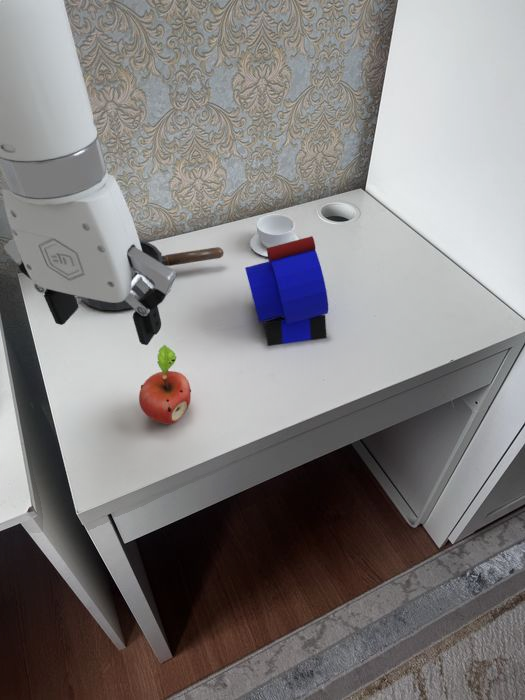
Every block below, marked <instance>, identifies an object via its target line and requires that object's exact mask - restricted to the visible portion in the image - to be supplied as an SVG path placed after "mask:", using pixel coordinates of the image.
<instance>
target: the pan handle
mask: <svg viewBox="0 0 525 700" xmlns="http://www.w3.org/2000/svg"><path fill="white" fill-rule="evenodd" d="M223 256H224V250H223V249H222V248H221V247H219V246H216V247H209V248H202V249H196V250H190V251H182V252H176V253H170V254H169V253H168V254H164V255H162V260H163V264H164V265H165V266H167V267H172V266H178V265H185V264H190V263H192V264H193V263H197V262H204V261H211V260H218V259H221V258H222V257H223Z"/></svg>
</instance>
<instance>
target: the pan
mask: <svg viewBox="0 0 525 700" xmlns="http://www.w3.org/2000/svg"><path fill="white" fill-rule="evenodd" d="M139 241H140V245H141V248H142V252H144V253H146V254H147V255H149V256H150V257H152V258H154V259H155V260H157V261H159V262H160V263H162V264H163V260H162V256H163V255H162V253H161V251H160V250H159V248H157V246H156V245H154V244H152V243H151V242H148V241H145V240H141V239H139ZM145 277H146V276H145ZM146 278H147V279H148V280H149V281H150V282H151V283H152V284H153V285H154V286H155V284H154V282H153V281H152V280H151V279H149V278H148V277H146ZM132 290H133V291H134V292H135V293H136V294H137V295H138V296H139V297H140V298H141V299H142V297H143V296H144V295H145V294H144V293H143V292H142V291H141V290H140V289H139V288H138V287H137V286H136V285H135V286H134V288H133V289H132ZM78 297H79V298H80V300H81V301H82V302H83V303H85V304H86V305H88V306H89V307H92V308H95V309H99V310H103V311H119V310H120V311H121V310H126V309H131V308H132V307H131V306H130V305H129V304H128V303H127V302H126V301H125V300H124V301H122V302H117V303H111V302H105V301H99V300H95V299H90V298H85V297H80V296H78Z"/></svg>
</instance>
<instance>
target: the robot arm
mask: <svg viewBox="0 0 525 700" xmlns="http://www.w3.org/2000/svg"><path fill="white" fill-rule="evenodd" d="M94 118H95V117H94V114H93V110H92V105H91V102H90V98H89V95H88V89H87V87H86V82H85V79H84V75H83V71H82V66H81V64H80V59H79V55H78V51H77V47H76V44H75V39H74V36H73V32H72V28H71V24H70V20H69V17H68V12H67V9H66V3H65V0H0V171H1V174H2V176H3V178H4V180H3V181H2V183H1V193H2V200H3V204H4V210H5V213H6V217H7V221H8V225H9V227H10V231H11V234H12V237H13V238H12V239H10V240H9V241H8V242H6V244H4V245H3V250H4V251H5V252H6V253H7V255H8V256H9V257H10V258H11V260H13V261H14V263H15V264H18V269H19V271H20V272H21V273H22V274H23V275H24V276H25V277H27V278H28V279H30V280H31V281H32V282H33V283H34V284H33V287H34V290H36V292H38V293H40V294H44V295H43V298H44V301H45V302H46V304H47V306H48V309H49V311H50V313H51V315H52V318H53V320H54V322H55V324H57V325H60V326H63V325H65V324H66V323H67V322H68V320H69V319H70V318H71V317H72V316H73V315H74V313H76V311H77V310H78V309H79V303H78V300H77V297H79V296H80V297H85V298H90V299H95V300H99V301H105V302H111V303H117V302H122V301H124V300H125V301H126V302H127V303H128V304H129V305H130V306H131V308H132V309H133V310H134V312H133V314H132V321H133V323H134V327H135V330H136V334H137V338H138V341H139V343H140V344H141V345H144V346H148V345H149V343H150V342H151V341H152V339H153V338H154V336H155V335H157V334H158V333H160V330H161V328H162V319H161V315H160V311H159V305H160V304H161V303H163V301H164V300H165V299H166V297H167V296H168V295H169V293H170V292H171V288H173V285H174V282H175V280H176V278H177V273H176V271H175V270H174V269H172V268H170V266H165V265H164V264H162V263H160V262H159V261H157V260H155V259H154V258H152V257H150V256H149V255H147V254H146V253H144V252H142V248H141V245H140V241H139V240H140V238H139V235H138V231H137V227H136V224H135V222H134V218H133V217H132V213H131V211H130V209H129V206H128V203H127V201H126V198H125V197H124V195H123V192H122V190H121V187H120V185H119V184H118V182H117V179H116V178H115V176H114V175H112V174H109V172H108V168H107V164H106V160H105V156H104V152H103V148H102V144H101V140H100V136H99V133H98V128H97V125H96V121H95V119H94ZM145 276H146V277H148V278H149V279H151V280H152V281H153V282H154V284H155V286H154V285H153V284H152V283H151V282H150V281H149V280H148V279H147V278H146V277H145ZM135 285H136V286H137V287H138V288H139V289H140V290H141V291H142V292H143V293H144V294H145V295H144V296H143V297H142V299H141V298H140V297H139V296H138V295H137V294H136V293H135V292H134V291H133V290H132V289H133V288H134V286H135ZM76 296H77V297H76ZM80 297H79V298H80Z"/></svg>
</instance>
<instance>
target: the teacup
mask: <svg viewBox="0 0 525 700" xmlns="http://www.w3.org/2000/svg"><path fill="white" fill-rule="evenodd" d="M255 225H256V232H257V233H255V234H254V235H252V237H251V238H250V242H249V246H250V248H251V249H252V250H253V251H254V252H255V253H256V254H258V255H261V256H263V257H267V258H268V254H267V248H269V247H273V246H277V245H280V244H284V243H288V242H292V241H296V240H299V239H300V238H299V236H298V235H297V234H295V228H296V222H295V221H294V219H293V218H292V217H290V216H288V215H285V214H281V213H270V214H266V215H263V216H261V217H260V218H258V219H257V221H256V224H255Z"/></svg>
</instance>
